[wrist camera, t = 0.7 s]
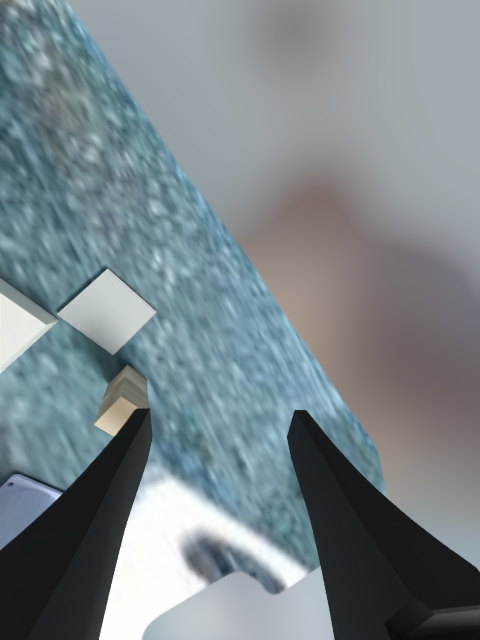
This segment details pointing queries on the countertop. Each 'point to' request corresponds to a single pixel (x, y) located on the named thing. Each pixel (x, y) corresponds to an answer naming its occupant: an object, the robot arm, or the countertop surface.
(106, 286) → the mat
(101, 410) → the wooden square post
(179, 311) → the countertop surface
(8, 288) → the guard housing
